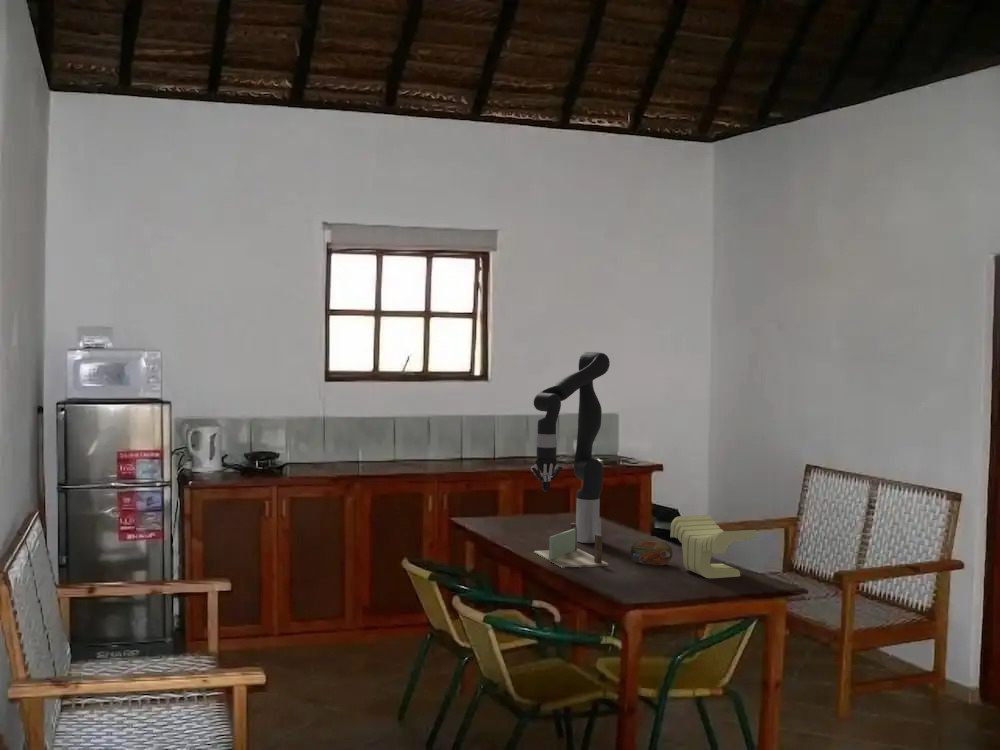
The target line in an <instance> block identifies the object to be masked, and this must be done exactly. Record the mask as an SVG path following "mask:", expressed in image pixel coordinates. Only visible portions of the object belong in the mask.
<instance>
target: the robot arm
mask: <svg viewBox="0 0 1000 750" xmlns="http://www.w3.org/2000/svg"><path fill="white" fill-rule="evenodd" d="M609 368H610V358H609V357H608V355H607V354H605V353H603V352H597V351H595V352H594V351H585V352H583V353H582V354H581V355H580V357H579V361H578V370H577V371H575V372H573V373H571V374H568V375H566V376H564V377H562V378H561V379H560V380H558V381H557V382H556V383H555V384H554V385H552V386H550V387H547V388H545V389H543V390H541V391H540V392H538V393H537V394H536V395H535V397H534V399H533V406H534V408H535V409H536V411H539V412H546V414H545V416H544V417H541V418H539V419H538V420H537V436H536V456H535V458H536V461H535V464H534V465H532V466H530V467H529V470H530V471H531V472H532V473H533V475H534V476H535V478H536V479H537V480H540V481H541V490H542V491H543V492H549V490H550V489H551V481H552V480H555V479H556V478H557V477H558V475H559V474H560V473H561V471H562V470H563V467H562V466H561V465H559V464H558V461H557V445H558V443H557V441H558V440H557V422H558V419H559V415H560V412H561V406H562V402H563V401H566V400H567V399H568V398H570V396H572V395H573V394H574V393H576V391H578V390H579V391H578V392H579V397H578V398H579V399H578V412H577V413H578V414H577V415H578V416H577V435H576V436H577V437H576V447H575V455H574V461H573V473H574V476H575V477H576V478H577V479H579V480H580V481H581V480H582V481H583V482H582V487H581V488H580V489H578V490H577V491H576V503H575V505H576V506H575V508H576V509H575V510H576V511H575V513H576V515H575V523H576V527H577V543H581V544H583V543H584V544H595V535H598V534H600V535H602V517H600V508H601V507H600V504H601V493H602V491H603V484H604V467H603V464H602V462H601V461H600V460H598V459H596V458H592V457H593V456H592V454H593V445H594V442H595V439H596V438H597V435H598V433H599V431H600V429H601V425H602V406H601V402H600V400H599V398H598V396H597V393H596V392H595V389H594V380H596V379H598V378H600V377H603V375H605V374H606V373H607V372H608V371H609ZM538 470H539V472H540V473H539V472H538Z"/></svg>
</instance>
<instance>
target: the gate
mask: <svg viewBox="0 0 1000 750" xmlns="http://www.w3.org/2000/svg"><path fill="white" fill-rule="evenodd" d="M548 539H549V540H548V541H549V542H548V544H549V545H548V550H549V559H553V558H556V557H559V556H561V555H564V554H567V553H569V552H572V551H575V550H577V549H578V548H577V547H578V542H577V527H573V529H571V530H569V529H568V530H566V531H563V532H562V531H561V532H560V533H557V534H553V535H551V536H549V538H548Z"/></svg>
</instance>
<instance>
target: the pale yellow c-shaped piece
mask: <svg viewBox="0 0 1000 750" xmlns="http://www.w3.org/2000/svg"><path fill="white" fill-rule="evenodd" d="M669 532H670V538H676V539H678V541H679V542H680V543H681V550H682V558H683V560H682V561H683V567H684V569H686V570H687V571H689V572H692V573H694V574H696V575H700V576H702V577H703V578H706V579H719V578H721V579H723V578H735V577H737V578H738V577H741V572H740V570H739V569H737V568H734V567H732V566H728V565H726V564H725V563H711V558H712V557H713V554H714V555H720V554H721V555H722V554H723V555H724V554H726V553H727V550H728V547H729V546H730V545H731V544H733V543H738V542H741V543H742V541H747V540H752V539H756V538H757V529H745V530H724V529H721V527H720V526H719V525H718V524H717V522H716V521H715V520H714V519H713V518H712V516H711V515H710V514H700V515H699V514H697V515H679V516H676V517H674V518H673V520H672V521H671V523H670V531H669Z"/></svg>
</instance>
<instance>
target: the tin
mask: <svg viewBox="0 0 1000 750" xmlns="http://www.w3.org/2000/svg"><path fill="white" fill-rule="evenodd" d="M630 556H631V558H632V560H633V561H634V562H635V563H637V564H639V563H642V564H641V565H650V564H652V565H653V566H665V565H667V564H668V563H670V562H671V560H672V558H673V549H672V547H671V546H670V545H669V544H668V543H667V542H664V541H654V540H653V541H651V540H638V541H636V542H634V543H633V544H632V546H631V549H630Z"/></svg>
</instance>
